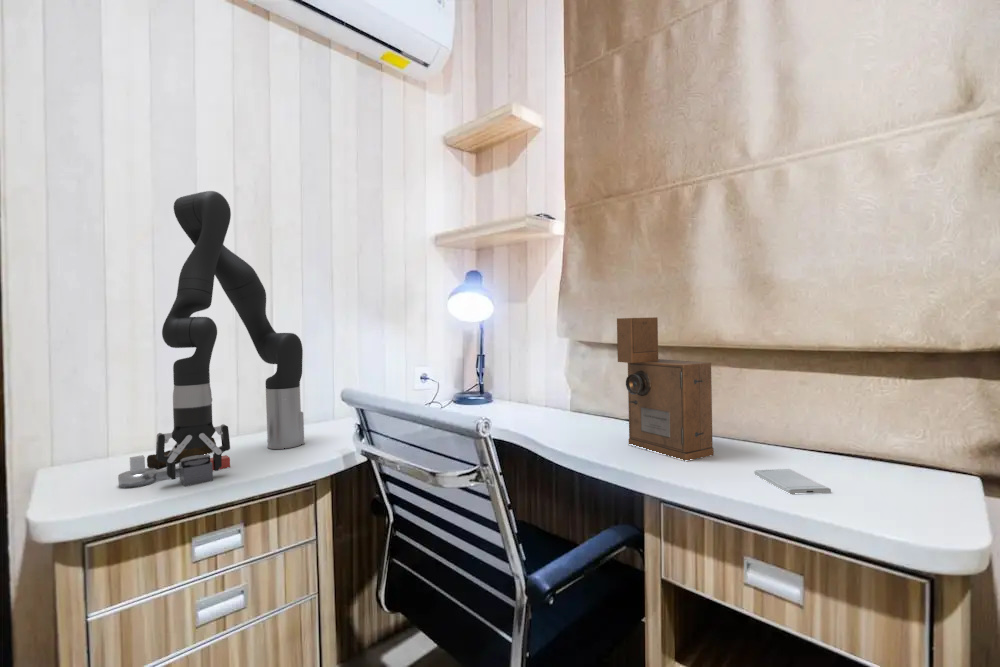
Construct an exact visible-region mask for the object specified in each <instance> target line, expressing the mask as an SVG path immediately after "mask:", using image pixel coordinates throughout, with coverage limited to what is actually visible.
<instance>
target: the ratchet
mask: <svg viewBox="0 0 1000 667" xmlns="http://www.w3.org/2000/svg"><path fill="white" fill-rule="evenodd" d="M221 457H222V466H221V468H219V470H222V469H223V468H224V469H228V468H227V467H229V468H231V457H230V456H229V455H227V454H225V455H221ZM145 458H146V457H145V456H144V454H143V455H137V456H130V457H129V470H128V471H127V470H126V471H123V472H122V473H120V474H118V475H117V476H118V488H119V489H125V490H126V489H136V488H137V489H138V488H141V487H145V486H149V485H152V484H154V483H156V482H158V481H165V480H169V479H170V480H171V477H168V475H167V467H166V468H160V469H155V468H148V467H146V463H145V462H146V461H145V460H146V459H145ZM210 462H212V467H213V457H210ZM224 469H223V470H224ZM213 470H214V468H213ZM214 471H215V470H214ZM175 473H176V478H179V465H177V466H175Z"/></svg>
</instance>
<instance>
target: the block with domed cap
mask: <svg viewBox="0 0 1000 667" xmlns="http://www.w3.org/2000/svg"><path fill="white" fill-rule="evenodd" d="M210 458H211V455H209V454H206V455H195V456H190V457H186V458H183V459H181V460H180V463H178V466H179V477H178V478H179V482H180V483H181V484H182V486H183V487H188V485H189V486H193V485H198V484H202V482H203V483H208V482H212V480H213V481H214V476H213V475H214V473H213V472H214V471H213V467H212V462H210Z"/></svg>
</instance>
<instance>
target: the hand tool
mask: <svg viewBox="0 0 1000 667" xmlns="http://www.w3.org/2000/svg"><path fill="white" fill-rule="evenodd" d="M210 440H211V441H212V442H213V443H214V444H215V445H216V446H217V443H216V440H215V438H214V437H213V436H212V437H211V438H210ZM171 450H172V449H168V450H165V451H164V455H166V456H168V454H169V453H170V452H171ZM210 452H211V453H213V452H212V450H211V449H210V448H209V447H208V446H207V445H205V446H203V447H202V448H193V449H189V450H187V449H183V450H182V452H181V453H180V454H179V455H178V456H177V457H176V459H175V460H174V462H175V463H176V462H179V461H180V460H181V459H183V458H186V457H190V456H195V455H204V454H206V455H208V454H207V453H209V454H210ZM146 463H147V464H146V465H147V468H155V469H156V470H159V468H164V467H165V466H167V465H166V462H159V461H158V460H157V459H156V453H155V454H149V455H147V457H146Z"/></svg>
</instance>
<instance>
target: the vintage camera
mask: <svg viewBox="0 0 1000 667" xmlns="http://www.w3.org/2000/svg"><path fill="white" fill-rule="evenodd" d="M658 320H659V318H658V317H621V318H616V336H617V337H616V338H617V339H616V340H617V341H616V342H617V343H616V344H617V346H616V347H617V350H616V351H617V363H625V364H627V376H626V379H625V386H626V390H627V393H628V395H627V396H628V399H627V401H628V402H627V403H628V436H629V437H628V445H629V444H633V445H636V446H639V447H643V448H646V449H649V450H652V451H656V452H659V453H662V454H666V455H669V456H673V457H676V458H680V459H683V460H690V459H695V460H697V459H696V458H699V459H702V458H701V457H703V458H707V457H711V456H710V455H712V456H714V454H715V453H714V452H715V451H714V446H713V398H712V397H713V394H712V362H710V361H709V362H706V361H695V360H694V361H691V360H690V361H689V360H680V359H679V360H678V359H677V360H676V359H662V358H659V335H658V334H659V328H658V327H659V326H658ZM706 456H707V457H706ZM690 461H691V460H690Z"/></svg>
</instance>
